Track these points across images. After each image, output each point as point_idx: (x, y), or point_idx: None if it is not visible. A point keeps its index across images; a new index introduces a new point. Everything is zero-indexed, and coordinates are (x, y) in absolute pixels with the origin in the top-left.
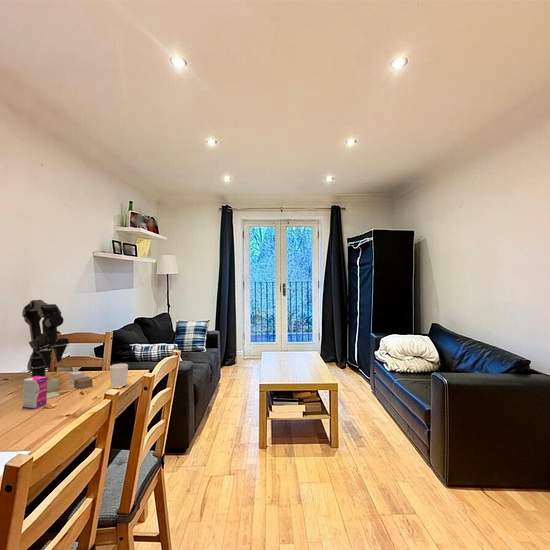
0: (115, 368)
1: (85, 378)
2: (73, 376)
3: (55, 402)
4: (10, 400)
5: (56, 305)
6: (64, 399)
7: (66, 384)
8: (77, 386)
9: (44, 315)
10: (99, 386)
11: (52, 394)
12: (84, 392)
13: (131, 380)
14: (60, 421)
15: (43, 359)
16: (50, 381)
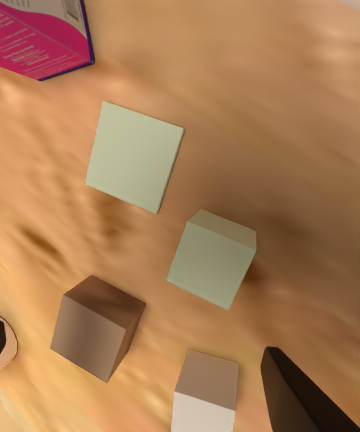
0: None
1: (81, 346)
2: (197, 385)
3: (29, 114)
4: (275, 14)
5: None
6: (31, 157)
7: (222, 331)
8: (97, 288)
9: None
10: None
11: (123, 177)
12: (40, 252)
13: (17, 405)
14: None
15: (347, 430)
16: (188, 241)
